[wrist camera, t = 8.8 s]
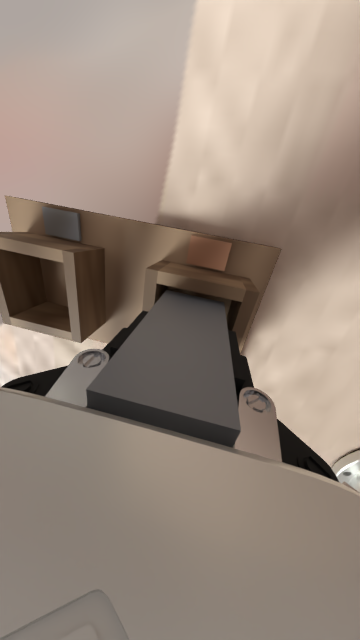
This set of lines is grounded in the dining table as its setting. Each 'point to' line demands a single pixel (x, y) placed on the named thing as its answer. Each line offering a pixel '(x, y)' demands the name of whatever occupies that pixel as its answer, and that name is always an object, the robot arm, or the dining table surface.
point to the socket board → (118, 271)
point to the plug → (174, 372)
